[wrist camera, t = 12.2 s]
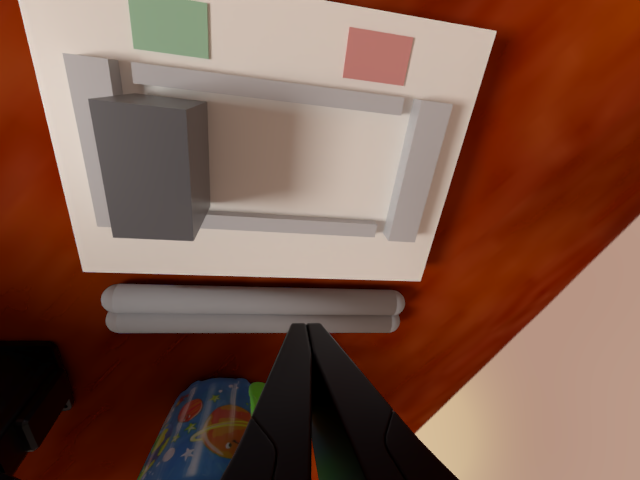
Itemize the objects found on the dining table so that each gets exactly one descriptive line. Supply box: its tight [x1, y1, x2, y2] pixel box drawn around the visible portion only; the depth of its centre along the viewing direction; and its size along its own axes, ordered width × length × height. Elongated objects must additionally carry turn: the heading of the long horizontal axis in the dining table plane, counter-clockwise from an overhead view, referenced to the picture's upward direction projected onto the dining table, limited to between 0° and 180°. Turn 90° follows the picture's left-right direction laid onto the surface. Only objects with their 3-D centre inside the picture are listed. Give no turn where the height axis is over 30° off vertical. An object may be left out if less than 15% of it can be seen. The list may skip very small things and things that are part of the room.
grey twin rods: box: [101, 284, 405, 333], centre depth 17 cm, size 20×24×2 cm
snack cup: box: [137, 378, 265, 480], centre depth 22 cm, size 16×10×10 cm
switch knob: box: [88, 93, 210, 241], centre depth 13 cm, size 3×5×4 cm, turn 173°
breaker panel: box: [18, 0, 497, 281], centre depth 17 cm, size 20×14×3 cm
